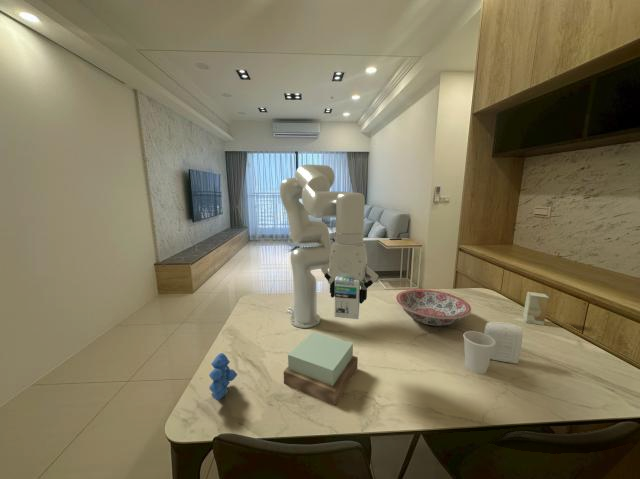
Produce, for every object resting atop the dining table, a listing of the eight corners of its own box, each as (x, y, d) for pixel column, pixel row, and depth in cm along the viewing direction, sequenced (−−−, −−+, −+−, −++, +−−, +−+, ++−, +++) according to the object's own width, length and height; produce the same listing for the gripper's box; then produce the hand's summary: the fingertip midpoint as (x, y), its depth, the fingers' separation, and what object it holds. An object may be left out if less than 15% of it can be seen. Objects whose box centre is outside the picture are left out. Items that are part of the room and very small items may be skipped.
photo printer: (515, 357, 86) (520, 322, 84) (520, 365, 82) (526, 329, 80) (479, 351, 89) (483, 317, 87) (483, 359, 85) (487, 324, 83)
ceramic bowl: (468, 312, 118) (470, 295, 116) (470, 345, 92) (473, 324, 91) (401, 300, 131) (402, 285, 130) (388, 326, 106) (389, 307, 104)
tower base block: (284, 385, 74) (283, 371, 74) (312, 355, 88) (312, 342, 87) (334, 407, 67) (334, 391, 66) (357, 370, 81) (357, 357, 80)
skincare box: (525, 322, 108) (529, 295, 106) (522, 318, 112) (526, 291, 110) (545, 325, 106) (549, 297, 104) (540, 321, 110) (545, 293, 108)
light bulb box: (358, 320, 70) (360, 281, 68) (333, 317, 71) (334, 280, 69) (359, 303, 80) (360, 269, 78) (337, 301, 81) (338, 268, 79)
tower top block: (288, 369, 74) (288, 354, 74) (312, 344, 86) (312, 331, 86) (332, 386, 68) (332, 370, 67) (352, 356, 80) (353, 343, 79)
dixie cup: (474, 356, 86) (477, 328, 84) (498, 373, 78) (502, 342, 77) (454, 362, 83) (457, 333, 82) (477, 379, 76) (480, 348, 74)
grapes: (234, 412, 65) (231, 368, 62) (205, 415, 64) (201, 371, 62) (242, 379, 76) (239, 341, 74) (217, 381, 75) (214, 343, 73)
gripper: (314, 237, 72) (314, 297, 75) (377, 244, 64) (374, 310, 68) (326, 233, 79) (325, 289, 82) (384, 239, 71) (381, 299, 74)
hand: (347, 298), depth 75 cm, fingers closed on light bulb box, 8 cm apart
